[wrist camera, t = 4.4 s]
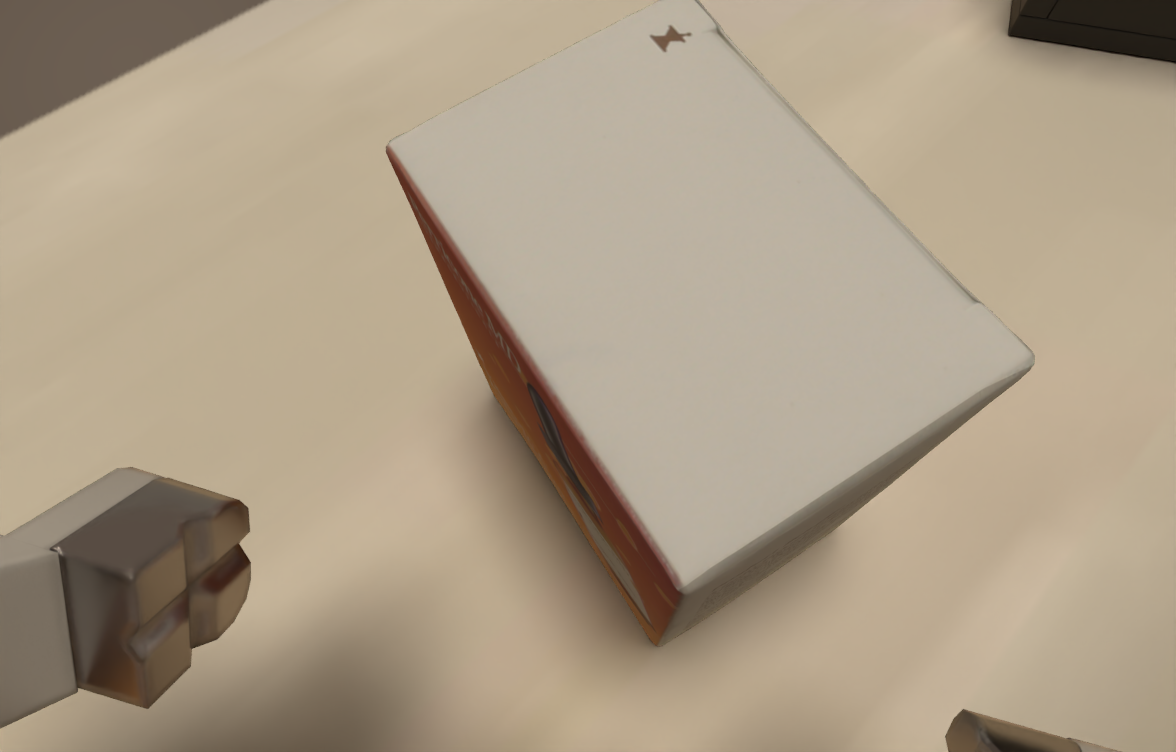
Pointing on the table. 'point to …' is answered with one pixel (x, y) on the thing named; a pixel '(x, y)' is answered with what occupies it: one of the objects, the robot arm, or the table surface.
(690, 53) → the small box
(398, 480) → the table surface
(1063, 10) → the trash bin
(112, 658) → the robot arm
